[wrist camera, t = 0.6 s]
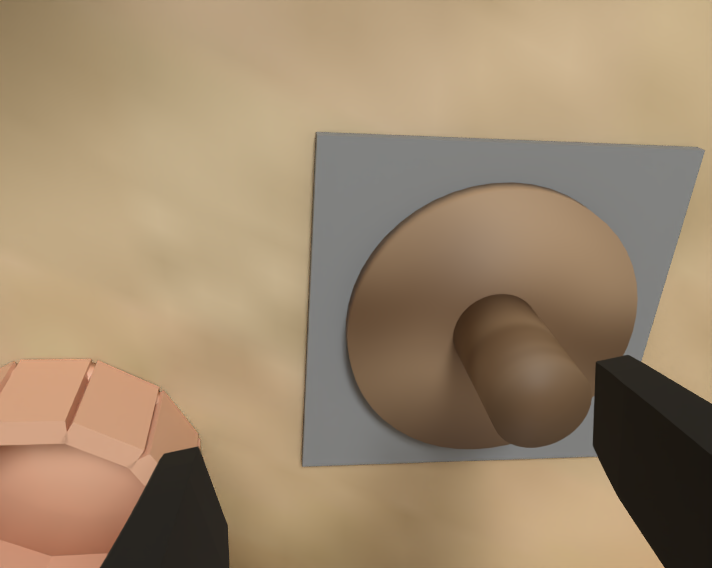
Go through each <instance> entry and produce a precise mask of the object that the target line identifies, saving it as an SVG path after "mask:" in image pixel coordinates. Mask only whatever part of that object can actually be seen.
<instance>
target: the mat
mask: <svg viewBox="0 0 712 568" xmlns="http://www.w3.org/2000/svg"><path fill="white" fill-rule="evenodd" d="M704 152H705V150H703V149H700V148H698V147H682V146H657V145H631V144H606V143H581V142H556V141H530V140H505V139H480V138H455V137H430V136H404V135H379V134H354V133H329V132H316V145H315V168H314V191H313V214H312V237H311V260H310V283H309V306H308V329H307V352H306V375H305V398H304V422H303V445H302V466H332V465H361V464H390V463H420V462H449V461H478V460H508V459H537V458H566V457H596V456H597V454H596V452H595V450H594V448H593V420H594V396H593V397H592V401H591V406H590V409H589V412H588V414H587V416H586V417H585V419H584V420H583V422H582V423H581V424H580V425H579V427H578V428H577V429H576V430H575V431H573V432H572V433H571V434H570V435H568V436H567V437H565V438H564V439H562V440H560V441H558V442H556V443H553V444H551V445H547V446H543V447H537V448H524V447H519V446H515V445H513V444H508V445H503V446H498V447H493V448H484V449H453V448H446V447H439V446H436V445H432V444H428V443H424V442H422V441H419V440H417V439H414V438H412V437H409V436H407V435H406V434H404V433H402V432H400V431H398V430H397V429H395V428H394V427H392V426H391V425H390V424H388V423H387V422H386V421H385V420H383V419H382V418H381V417H380V416H379V415H378V414H377V413H376V412H375V411H374V410H373V409H372V407H371V406H370V404H369V403H368V402H367V400H366V399H365V398H364V396H363V394H362V392H361V390H360V388H359V386H358V384H357V382H356V380H355V377H354V373H353V370H352V367H351V363H350V358H349V354H348V348H347V341H346V317H347V310H348V304H349V300H350V297H351V293H352V290H353V287H354V284H355V282H356V280H357V278H358V276H359V273H360V271H361V269H362V268H363V266H364V264H365V263H366V261H367V260H368V258H369V256H370V255H371V253H372V252H373V251H374V249H375V248H376V247H377V246H378V244H379V243H380V242H381V241H382V240H383V238H384V237H385V236H386V235H387V234H388V233H389V232H390V231H392V230H393V229H394V228H395V227H396V226H397V225H398V224H399V223H400V222H401V221H403V220H404V219H405V218H407V217H408V216H409V215H411V214H412V213H413V212H415V211H416V210H418V209H420V208H422V207H423V206H425V205H427V204H428V203H430V202H432V201H434V200H436V199H438V198H441V197H443V196H445V195H448V194H450V193H452V192H455V191H459V190H462V189H466V188H469V187H472V186H478V185H484V184H490V183H510V182H514V183H524V184H533V185H537V186H541V187H545V188H550V189H552V190H555V191H557V192H560V193H562V194H565V195H567V196H569V197H571V198H572V199H574V200H576V201H577V202H579V203H581V204H583V205H584V206H585V207H586V208H588V209H589V210H590V211H592V212H593V213H594V214H595V215H597V216H598V217H599V218H600V219H601V220H603V221H604V222H605V223H606V224H607V225H608V226H609V227H610V228H611V229H612V231H613V232H614V233H615V234H616V235H617V236H618V238H619V239H620V241H621V243H622V244H623V246H624V247H625V249H626V251H627V253H628V255H629V258H630V260H631V263H632V265H633V269H634V273H635V278H636V282H637V297H638V301H637V313H636V319H635V324H634V328H633V333H632V335H631V338H630V341H629V344H628V346H627V349H626V351H625V353H624V355H630V356H632V357H633V358H635V359H637V360H639V361H641V360H642V357H643V354H644V350H645V347H646V344H647V341H648V337H649V334H650V331H651V327H652V324H653V321H654V317H655V314H656V311H657V307H658V304H659V301H660V297H661V294H662V291H663V288H664V284H665V281H666V278H667V274H668V271H669V268H670V264H671V261H672V258H673V254H674V251H675V248H676V245H677V241H678V238H679V235H680V231H681V228H682V225H683V221H684V218H685V215H686V211H687V208H688V205H689V201H690V198H691V195H692V192H693V188H694V185H695V182H696V178H697V175H698V172H699V168H700V165H701V162H702V158H703V155H704ZM624 355H623V356H624Z"/></svg>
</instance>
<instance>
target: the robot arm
mask: <svg viewBox="0 0 712 568" xmlns="http://www.w3.org/2000/svg"><path fill="white" fill-rule="evenodd" d="M593 448H594V450H595V452H596V454H597V456H598V458H599V460H600V462H601V464H602V466H603V469H604V471H605V473H606V475H607V477H608V479H609V480H610V482H611V484H612V486H613V488H614V490H615V492H616V494H617V496H618V498H619V499H620V501H621V502H622V504H623V505H624V507H625V508H626V510H627V511H628V513H629V515H630V516H631V518H632V519H633V521H634V522H635V524H636V525H637V527H638V528H639V530H640V531H641V533H642V534H643V536H644V537H645V539H646V540H647V542H648V543H649V545H650V546H651V548H652V549H653V551H654V552H655V554H656V555H657V557H658V558H659V560H660V561H661V563H662V564H663V566H664V567H665V568H712V404H711V403H710V402H708V401H706V400H704V399H703V398H701V397H699V396H698V395H696V394H694V393H693V392H691V391H689V390H687V389H686V388H684V387H682V386H681V385H679V384H677V383H676V382H674V381H672V380H671V379H669V378H667V377H666V376H664V375H662V374H661V373H659V372H657V371H656V370H654V369H652V368H651V367H649V366H647V365H646V364H644V363H642V362H641V361H639V360H637V359H635V358H633V357H632V356H630V355H624V356H620V357H615V358H610V359H606V360H601V361H596V366H595V393H594V420H593ZM100 568H229V546H228V525H227V523H226V520H225V517H224V515H223V512H222V509H221V506H220V504H219V501H218V498H217V496H216V493H215V490H214V487H213V485H212V482H211V479H210V476H209V474H208V471H207V468H206V466H205V463H204V460H203V457H202V455H201V452H200V449H199V446H197V447H193V448H188V449H183V450H178V451H174V452H169V453H164V454H163V456H162V457H161V458H160V460H159V462H158V463H157V465H156V467H155V469H154V471H153V473H152V475H151V477H150V479H149V481H148V483H147V485H146V486H145V488H144V490H143V492H142V494H141V496H140V498H139V500H138V502H137V503H136V505H135V507H134V509H133V511H132V513H131V514H130V516H129V518H128V520H127V522H126V523H125V525H124V527H123V529H122V530H121V532H120V534H119V536H118V537H117V539H116V541H115V542H114V544H113V546H112V548H111V549H110V551H109V553H108V555H107V556H106V558H105V560H104V561H103V563H102V565H101V566H100Z"/></svg>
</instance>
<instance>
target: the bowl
mask: <svg viewBox="0 0 712 568" xmlns="http://www.w3.org/2000/svg"><path fill="white" fill-rule="evenodd" d="M158 390H159V387H158V386H156V385H154V384H151V383H149V382H147V381H144V380H142V379H140V378H138V377H135V376H133V375H131V374H128V373H126V372H124V371H121V370H119V369H117V368H115V367H112V366H110V365H108V364H105V363H103V362H101V361H97V363H92V362H91V359H34V360H20V361H19V363H18V364H16V363H15V362H14V361H13V362H11V363H9V364H7V365H6V366H4V367H2V368H0V568H100V566H101V565H102V563H103V561H104V560H105V558H106V556H107V555H108V553H109V551H110V549H111V548H112V546H113V544H114V542H115V541H116V539H117V537H118V536H119V534H120V532H121V530H122V529H123V527H124V525H125V523H126V522H127V520H128V518H129V516H130V514H131V513H132V511H133V509H134V507H135V505H136V503H137V502H138V500H139V498H140V496H141V494H142V492H143V490H144V488H145V486H146V485H147V483H148V481H149V479H150V477H151V475H152V473H153V471H154V469H155V467H156V465H157V463H158V462H159V460H160V458H161V457H162V456H163V454H164V453H169V452H174V451H178V450H183V449H188V448H193V447H197V446H199V449H200V452H201V443H200V438H199V439H198V433H197V431H196V430H195V429H194V428H193V426H192V425H191V424H190V423H189V421H188V420H187V419H186V418H185V416H184V415H183V414H182V412H181V411H180V410H179V409H178V407H177V406H176V405H175V404H174V402H173V401H172V400H171V399H170V397H169V396H168V395H167V394H166V392H165V391H162V392H160V391H158Z"/></svg>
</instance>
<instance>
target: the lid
mask: <svg viewBox="0 0 712 568" xmlns="http://www.w3.org/2000/svg"><path fill="white" fill-rule="evenodd" d="M637 301H638V297H637V282H636V278H635V273H634V269H633V265H632V263H631V260H630V258H629V255H628V253H627V251H626V249H625V247H624V246H623V244H622V243H621V241H620V239H619V238H618V236H617V235H616V234H615V233H614V232H613V231H612V229H611V228H610V227H609V226H608V225H607V224H606V223H605V222H604V221H603V220H601V219H600V218H599V217H598V216H597V215H595V214H594V213H593V212H592V211H590V210H589V209H588V208H586V207H585V206H584V205H583V204H581V203H579V202H577V201H576V200H574V199H572V198H571V197H569V196H567V195H565V194H562V193H560V192H557V191H555V190H552V189H550V188H545V187H541V186H537V185H533V184H524V183H514V182H510V183H490V184H484V185H478V186H472V187H469V188H466V189H462V190H459V191H455V192H452V193H450V194H448V195H445V196H443V197H441V198H438V199H436V200H434V201H432V202H430V203H428V204H427V205H425V206H423V207H422V208H420V209H418V210H416V211H415V212H413V213H412V214H411V215H409V216H408V217H407V218H405V219H404V220H403V221H401V222H400V223H399V224H398V225H397V226H396V227H395V228H394V229H393V230H392V231H390V232H389V233H388V234H387V235H386V236H385V237H384V238H383V240H382V241H381V242H380V243H379V244H378V246H377V247H376V248H375V249H374V251H373V252H372V253H371V255H370V256H369V258H368V260H367V261H366V263H365V264H364V266H363V268H362V269H361V271H360V273H359V276H358V278H357V280H356V282H355V284H354V287H353V290H352V293H351V297H350V300H349V304H348V310H347V317H346V341H347V348H348V354H349V358H350V363H351V367H352V370H353V373H354V377H355V380H356V382H357V384H358V386H359V388H360V390H361V392H362V394H363V396H364V398H365V399H366V400H367V402H368V403H369V404H370V406H371V407H372V409H373V410H374V411H375V412H376V413H377V414H378V415H379V416H380V417H381V418H382V419H383V420H385V421H386V422H387V423H388V424H390V425H391V426H392V427H394V428H395V429H397V430H398V431H400V432H402V433H404V434H406V435H407V436H409V437H412V438H414V439H417V440H419V441H422V442H424V443H428V444H432V445H436V446H439V447H446V448H453V449H484V448H493V447H498V446H503V445H508V444H513V445H515V446H519V447H524V448H537V447H543V446H547V445H551V444H553V443H556V442H558V441H560V440H562V439H564V438H565V437H567V436H568V435H570V434H571V433H572V432H573V431H575V430H576V429H577V428H578V427H579V425H580V424H581V423H582V422H583V420H584V419H585V417H586V416H587V414H588V412H589V409H590V406H591V401H592V397H593V396H594V393H595V366H596V361H601V360H606V359H610V358H615V357H620V356H623V355H624V353H625V351H626V349H627V346H628V344H629V341H630V338H631V335H632V333H633V328H634V324H635V319H636V313H637Z"/></svg>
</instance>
